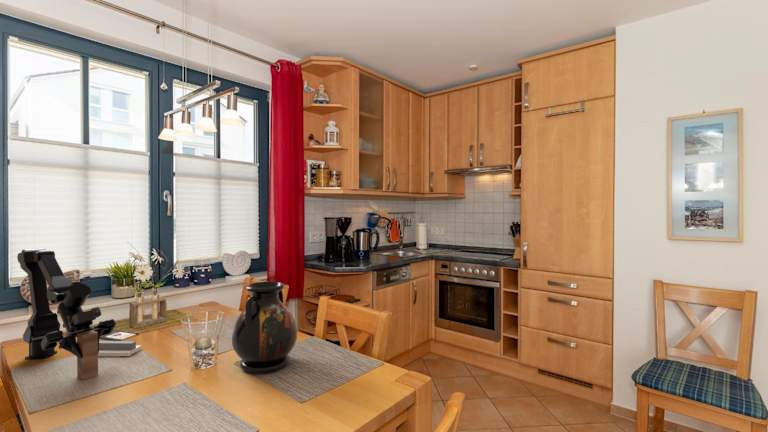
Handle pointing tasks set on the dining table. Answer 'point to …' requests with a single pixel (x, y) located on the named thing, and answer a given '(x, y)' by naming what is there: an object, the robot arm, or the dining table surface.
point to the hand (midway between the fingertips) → (89, 355)
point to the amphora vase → (264, 330)
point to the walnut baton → (87, 354)
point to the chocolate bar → (118, 335)
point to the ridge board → (118, 352)
